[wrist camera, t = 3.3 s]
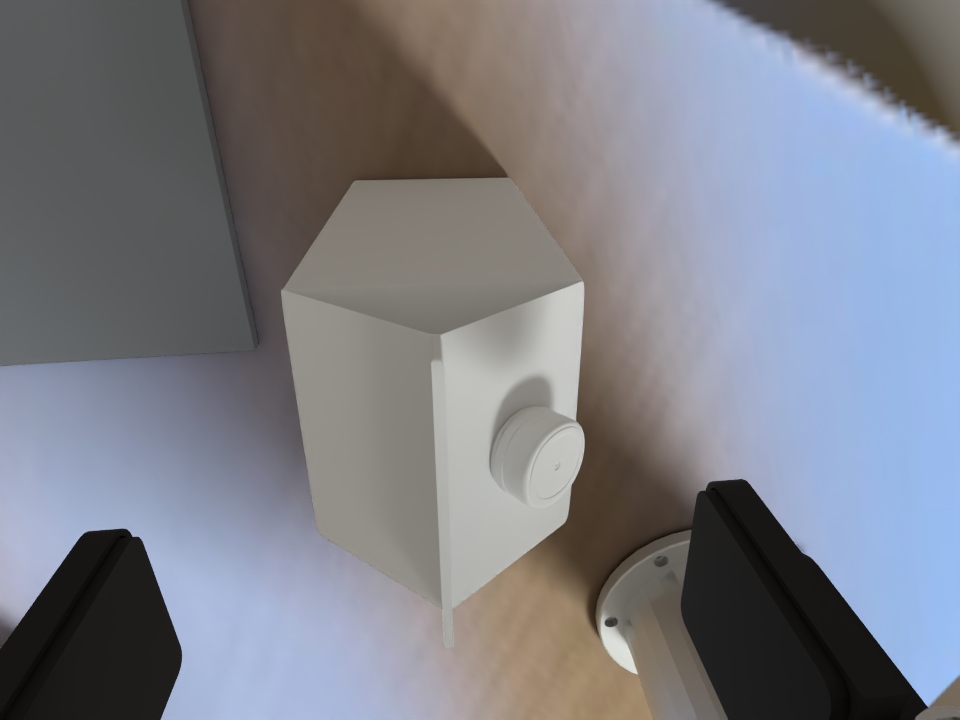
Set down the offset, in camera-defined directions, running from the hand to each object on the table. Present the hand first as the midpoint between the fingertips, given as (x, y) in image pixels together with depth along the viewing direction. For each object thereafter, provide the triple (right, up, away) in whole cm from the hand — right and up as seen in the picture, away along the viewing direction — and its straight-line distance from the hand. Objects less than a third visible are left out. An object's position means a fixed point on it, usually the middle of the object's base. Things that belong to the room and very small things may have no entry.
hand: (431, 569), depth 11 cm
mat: (-18, +11, +16) cm, 27 cm away
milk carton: (-1, +9, +19) cm, 21 cm away
